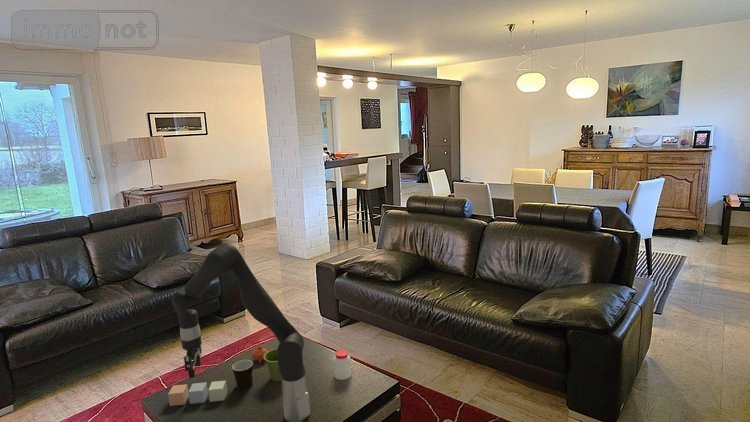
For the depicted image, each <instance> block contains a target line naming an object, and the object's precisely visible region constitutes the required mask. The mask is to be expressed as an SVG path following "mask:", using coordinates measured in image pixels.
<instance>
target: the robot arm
mask: <svg viewBox="0 0 750 422" xmlns="http://www.w3.org/2000/svg"><path fill="white" fill-rule="evenodd" d="M230 270H231V271H232V273H233V274H234V275H235V278H236V279H237V282H238V287H239V293H240V299H241V302H242V304H243V306H244V308H245V309H246V310H247V312H248V313H249V314H250V315H251V317H252V318H253V319H254V320H256V321H257V322H259V324H262V325H264V326H266V327H267V328H268V329H269V330H270V331H271V332H272V333H273V334H274V336H275V337H276V339H277V341H278V343H279V344H278V347H277V348H276V349H277V358H278V366H279V372H280V374H281V393H282V404H283V407H282V408H283V415H284V419H285V421H287V422H303V421H304V420H305V419H306V418H307V417H308V416H310V415H311V408H310V395H309V391H307V379H306V368H305V365H304V359H303V351H304V346H305V341H304V338H303V336H302V334H301V333H300V332H299V331H298V330H297V329H296V328H295V327H294V326H293V325H292V323H290V321H289V320H288V319H287V317H285V316H284V314H283V313H282V311H281V310H280V308H279V307H278V306H277V304H276V303H275V302H274V300H273V298H272V297H271V296H270V294H268V292H267V291H266V290H265V289H264V287H263V286H262V285H261V283H260V282H259V280H258V279H257V278H256V276H255V275H254V274H253V272H252V270H251V269H250V267H249V265H248V264H247V262H246V260H245V258H244V257H243V255H242V254H241V253H240V251H239V249H238V248H237V247H236V246H235V245H234V244H232V243H230V242H222V243H221V244H219V245H218V246H216V247H215V248H214V249H213V250H211V251H210V252H209V253H208V254H207V255H206V257H205V258H204V261H203V262H202V264H201V266H200V268H199V269H198V271H197V272H196V273H195V274H194V275H193V276H192V277H191V278H190V279H189V280H188V281H187V283H186V284H185V286H184V288H182V289H180V290H177V291H175V292H173V294H172V296H171V304H172V306H173V308H174V309H175V312H176V315H177V317H178V320H179V335H180V342H181V348H182V349H183V350H184V351H186V352H185V353H186V354H185V355H186V356H183V363H184V371H186V372H187V373H188V378H190V379H191V378H192V379H194V378H195V377H196V374H195V373H196V372H195V367H200V366H201V365H202V362H201V357H202V356H201V355H202V353H203V349H202V334H201V327H200V323H199V322H200V321H199V315H198V311H197V310H196V309H187V307H189V306H191V305H193V304H196V303H198V302H199V301H200V300H201V298H202V295H203V294H204V293H205V291H206V290H207V289H209V287H210V285H211V284H212V282H213V281H214V280H215V279H217V278H220V277H221V276H222V275H224V274H226V273H227V272H229V271H230Z"/></svg>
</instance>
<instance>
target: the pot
mask: <svg viewBox="0 0 750 422" xmlns="http://www.w3.org/2000/svg"><path fill="white" fill-rule="evenodd" d="M268 351H269V350H267V349H266V348H264V347H261V346H259V347H257V348H255V350H254V351H253V352H252V353H251V358H252V359H253V360H255V361H258V362H259V364H261V363H262V360H263V361H264V360H265V359H264V355H265V354H266V353H267V352H268Z"/></svg>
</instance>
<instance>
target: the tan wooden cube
mask: <svg viewBox="0 0 750 422" xmlns="http://www.w3.org/2000/svg"><path fill="white" fill-rule="evenodd" d="M188 391H189V388H188V383H186V384H176V385H172V386H171V389H169V392H168V393H167V396H168V397H167V398H168V401H169V403H168V404H169V406H170V407H172V406H183V405H185V404H186V402H187V401H188V399H189V394H188Z"/></svg>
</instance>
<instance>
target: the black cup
mask: <svg viewBox="0 0 750 422" xmlns="http://www.w3.org/2000/svg"><path fill="white" fill-rule="evenodd" d="M231 368H232V373H233V375H234V376H233V377H234V380H235V383H236V387H237V390H238V391H247V390H249V389H251V388H252V387H253V379H254V378H253V375H254V373H253V372H254V370H253V369H254V363H253V361H252V360H250V359H242V360H238V361H236V362H235V363H233V364H232V366H231Z"/></svg>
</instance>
